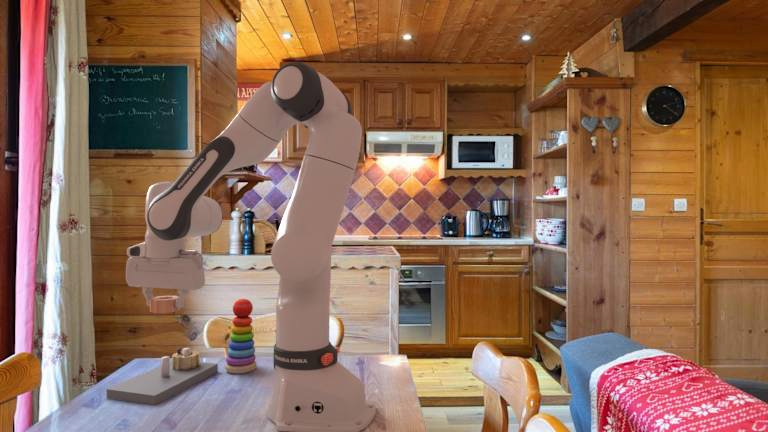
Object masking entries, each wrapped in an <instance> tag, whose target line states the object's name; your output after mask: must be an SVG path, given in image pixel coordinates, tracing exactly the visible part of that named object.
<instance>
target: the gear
mask: <svg viewBox="0 0 768 432" xmlns="http://www.w3.org/2000/svg"><path fill="white" fill-rule="evenodd" d="M171 361H172V368H173V369H174V368H175V369H176V370H180V369H183V370H187V369H190V368H196V366H199V365H200V362H201V351H200V350H194V349H192V350H190V355H188V356H183V350H182V348H181V347H178V348H176V353H173V354H172V356H171Z"/></svg>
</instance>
